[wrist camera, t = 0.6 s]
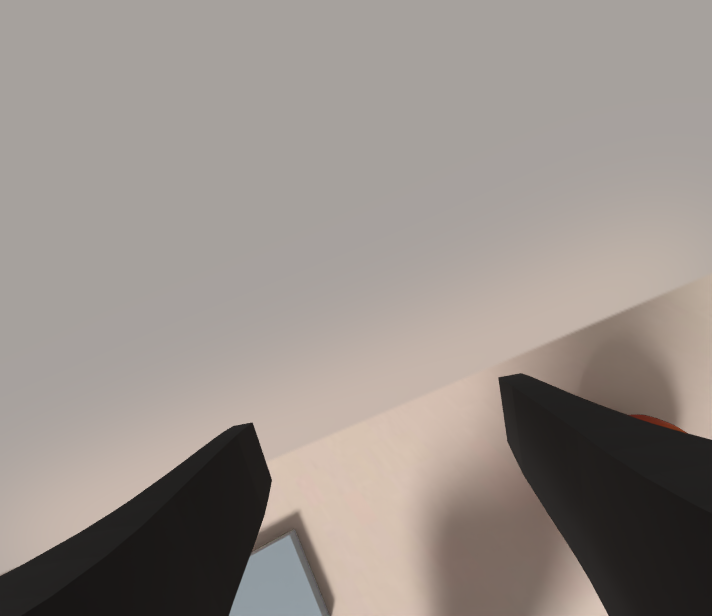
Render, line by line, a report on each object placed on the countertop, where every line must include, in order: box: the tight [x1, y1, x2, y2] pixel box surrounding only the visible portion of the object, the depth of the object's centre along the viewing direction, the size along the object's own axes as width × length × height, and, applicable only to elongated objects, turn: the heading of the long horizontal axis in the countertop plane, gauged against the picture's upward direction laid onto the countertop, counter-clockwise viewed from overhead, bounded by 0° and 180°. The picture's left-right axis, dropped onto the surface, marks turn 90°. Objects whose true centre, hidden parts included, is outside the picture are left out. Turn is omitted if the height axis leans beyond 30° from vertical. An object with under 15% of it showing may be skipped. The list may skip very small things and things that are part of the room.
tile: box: [229, 529, 330, 616], centre depth 28 cm, size 13×7×2 cm, turn 118°
